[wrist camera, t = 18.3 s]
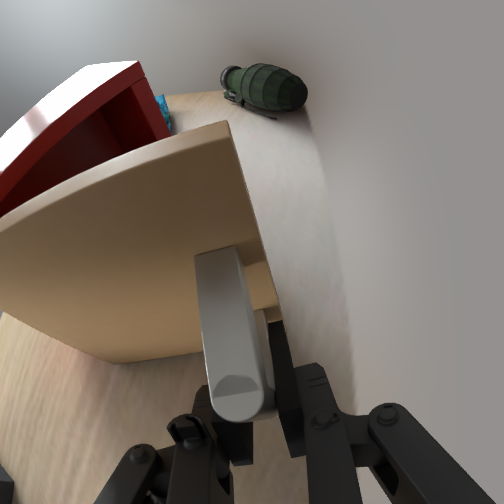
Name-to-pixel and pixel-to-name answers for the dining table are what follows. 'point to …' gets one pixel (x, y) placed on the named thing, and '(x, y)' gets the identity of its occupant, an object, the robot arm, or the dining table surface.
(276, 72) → the grenade
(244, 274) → the wooden cabinet door
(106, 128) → the cabinet
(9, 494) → the box
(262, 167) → the dining table surface
